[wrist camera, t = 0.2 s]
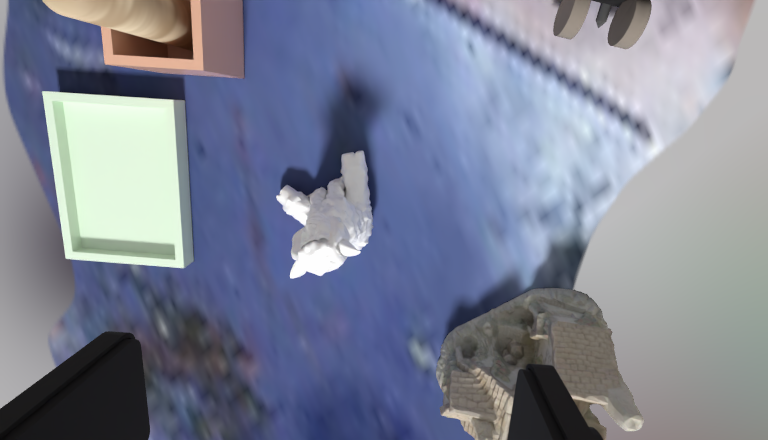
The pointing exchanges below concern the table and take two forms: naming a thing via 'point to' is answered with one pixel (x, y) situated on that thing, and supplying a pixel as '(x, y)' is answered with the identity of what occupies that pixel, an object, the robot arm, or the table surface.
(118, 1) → the dowel
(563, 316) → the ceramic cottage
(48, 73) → the table surface
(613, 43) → the figurine character
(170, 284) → the table surface
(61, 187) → the tray
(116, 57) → the pink open box
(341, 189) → the sitting furry creature
